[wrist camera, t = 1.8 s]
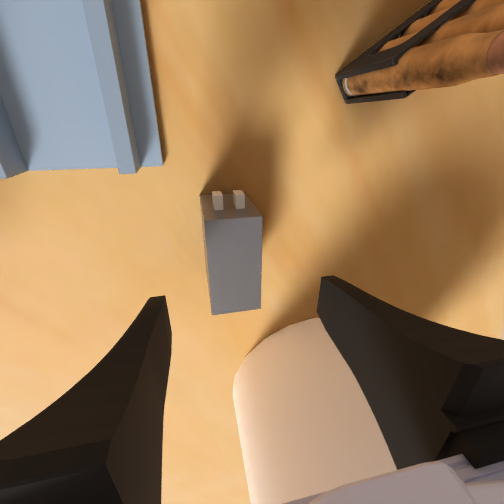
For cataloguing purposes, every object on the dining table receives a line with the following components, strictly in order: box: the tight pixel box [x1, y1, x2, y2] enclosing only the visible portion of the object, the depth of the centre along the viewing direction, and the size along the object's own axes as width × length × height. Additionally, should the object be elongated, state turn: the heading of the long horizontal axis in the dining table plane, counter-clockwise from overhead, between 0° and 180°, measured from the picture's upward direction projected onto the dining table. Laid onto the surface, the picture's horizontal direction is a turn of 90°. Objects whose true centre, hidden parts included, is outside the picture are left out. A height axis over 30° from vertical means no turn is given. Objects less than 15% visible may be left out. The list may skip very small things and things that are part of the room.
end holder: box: [0, 0, 163, 179], centre depth 12 cm, size 9×12×3 cm
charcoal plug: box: [200, 190, 263, 315], centre depth 17 cm, size 3×7×5 cm, turn 0°
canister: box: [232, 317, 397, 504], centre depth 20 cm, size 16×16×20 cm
